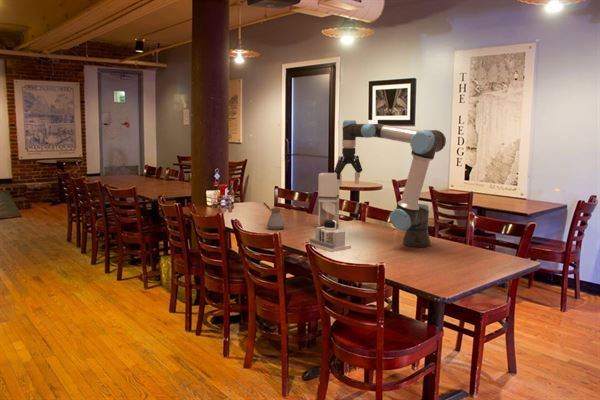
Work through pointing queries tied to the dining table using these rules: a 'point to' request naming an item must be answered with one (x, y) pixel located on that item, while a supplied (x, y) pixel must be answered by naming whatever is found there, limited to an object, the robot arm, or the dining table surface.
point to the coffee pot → (275, 219)
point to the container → (328, 231)
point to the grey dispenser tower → (328, 198)
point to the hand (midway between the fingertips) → (348, 184)
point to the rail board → (336, 246)
